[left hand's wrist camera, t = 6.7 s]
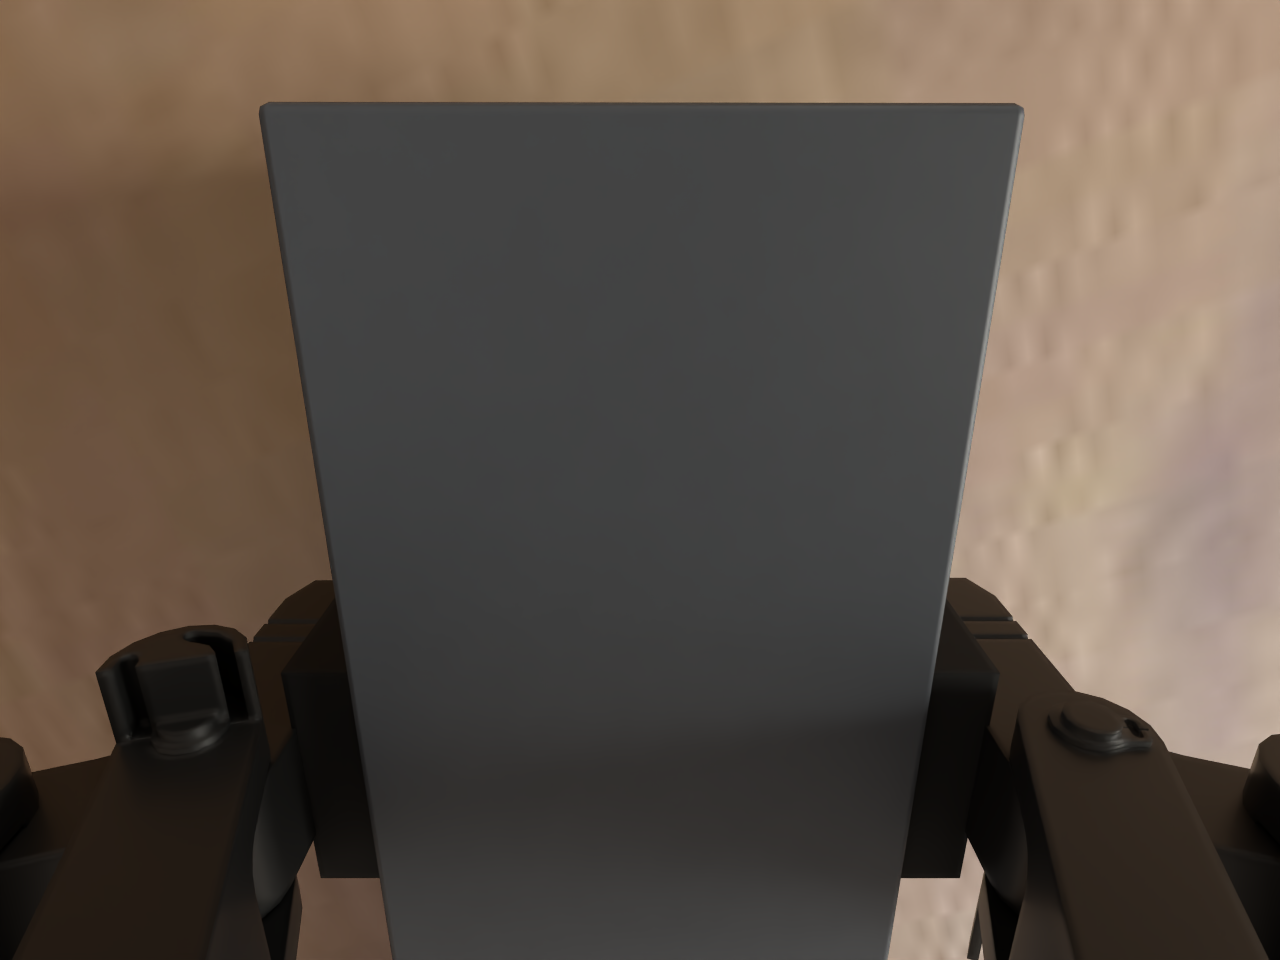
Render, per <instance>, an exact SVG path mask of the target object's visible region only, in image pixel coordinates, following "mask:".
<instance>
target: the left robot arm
mask: <svg viewBox="0 0 1280 960" xmlns="http://www.w3.org/2000/svg"><path fill="white" fill-rule="evenodd" d="M1027 636H1028V635H1027V633H1026V632H1025V631H1024V630H1023V629H1022V627H1021V626H1020V625H1019V624H1018V623H1017V621H1013V617H1012V615H1011V614H1010V613H1009V612H1008V611H1007V610H1006V608H1005V607H1004V606H1003V605H1002V604H1001V602H1000V601H999V600H998V599H997V598H996V596H994V595H993V594H991V593H989V592H988V591H986V590H984V589H983V588H981V587H980V586H978V585H976V584H975V583H973V582H971V581H970V580H968V579H966V578H949V583H948V589H947V596H946V602H945V608H944V614H943V620H942V626H941V633H940V639H939V645H938V651H937V657H936V663H935V670H934V676H933V682H932V688H931V694H930V700H929V706H928V713H927V719H926V725H925V731H924V737H923V743H922V750H921V756H920V762H919V768H918V774H917V780H916V787H915V793H914V799H913V805H912V811H911V817H910V824H909V830H908V836H907V842H906V848H905V854H904V860H903V867H902V873H901V878H960V874H961V869H962V864H963V859H964V854H965V849H966V843H967V838H968V839H969V841H970V843H971V845H972V847H973V849H974V851H975V853H976V855H977V857H978V859H979V861H980V863H981V865H982V867H983V869H984V875H983V880H982V884H981V889H980V894H979V899H978V903H977V908H976V913H975V918H974V922H973V927H972V932H971V937H970V942H969V948H968V955H967V959H971V960H978V959H979V954H980V950H981V945H982V946H983V954H984V960H1280V734H1277V735H1271V736H1270V737H1268V738H1267V739H1265V740H1264V741H1263V742H1261V743H1260V744H1259V746H1258V749H1257V752H1256V754H1255V757H1254V760H1253V763H1252V766H1251V769H1247V768H1243V767H1238V766H1233V765H1228V764H1223V763H1218V762H1213V761H1208V760H1203V759H1198V758H1193V757H1189V756H1184V755H1180V754H1176V753H1172V752H1169V751H1168V750H1167V748H1166V746H1165V744H1164V742H1163V741H1162V739H1161V738H1160V737H1159V736H1158V734H1157V733H1156V732H1155V731H1154V729H1153V728H1152V727H1151V725H1149V724H1148V723H1146V722H1145V721H1144V720H1142V719H1141V718H1139V717H1138V716H1137V715H1135V714H1134V713H1132V712H1131V711H1130V710H1128V709H1126V708H1123V707H1121V706H1119V705H1117V704H1114V703H1112V702H1110V701H1108V700H1105V699H1103V698H1100V697H1096V696H1092V695H1088V694H1084V693H1080V692H1076V691H1075V690H1074V689H1073V688H1072V687H1071V686H1070V684H1069V683H1068V682H1067V681H1066V680H1065V679H1064V677H1063V676H1062V675H1061V674H1060V673H1059V671H1058V670H1057V669H1056V668H1055V667H1054V665H1053V664H1052V663H1051V662H1050V661H1049V660H1048V658H1047V657H1046V656H1045V655H1044V654H1043V652H1042V651H1041V650H1040V649H1039V648H1038V646H1037V645H1036V644H1035V643H1034V642H1033V640H1032V639H1028V637H1027ZM95 673H96V677H97V680H98V683H99V687H100V690H101V693H102V697H103V700H104V704H105V707H106V710H107V714H108V717H109V720H110V724H111V727H112V730H113V734H114V737H115V741H116V745H115V747H114V749H113V751H112V753H111V755H110V756H106V757H103V758H99V759H94V760H90V761H85V762H80V763H75V764H70V765H65V766H60V767H55V768H50V769H46V770H41V771H36V772H31V769H30V766H29V764H28V761H27V758H26V755H25V752H24V749H23V747H21V746H20V745H19V744H17V743H16V742H14V741H13V740H12V739H10V738H1V737H0V960H296V956H297V948H298V939H299V931H300V923H301V915H302V902H301V895H300V889H299V884H298V880H297V873H298V871H299V869H300V866H301V864H302V862H303V860H304V858H305V856H306V854H307V852H308V850H309V848H310V846H311V844H312V842H313V841H314V846H315V851H316V856H317V861H318V866H319V871H320V876H321V878H380V876H379V870H378V864H377V858H376V851H375V845H374V839H373V832H372V826H371V820H370V813H369V807H368V801H367V794H366V788H365V782H364V775H363V769H362V763H361V756H360V750H359V744H358V737H357V731H356V725H355V718H354V712H353V706H352V700H351V693H350V687H349V681H348V674H347V668H346V662H345V655H344V649H343V643H342V636H341V630H340V624H339V617H338V611H337V605H336V598H335V592H334V586H333V580H315V581H314V582H312V583H310V584H309V585H307V586H306V587H304V588H302V589H301V590H299V591H297V592H296V593H294V594H293V595H291V596H289V597H288V598H286V599H285V600H284V601H283V603H282V604H281V605H280V606H279V607H278V609H277V610H276V611H275V612H274V613H273V615H272V616H271V617H270V618H269V619H268V624H264V625H263V627H262V628H261V629H260V630H259V631H258V633H257V634H256V635H255V636H254V640H253V642H249V643H247V638H246V637H245V636H244V635H242V634H241V633H240V632H238V631H237V630H236V629H233V628H228V627H223V626H218V625H201V626H187V627H182V628H178V629H173V630H169V631H164V632H160V633H157V634H155V635H152V636H150V637H147V638H144V639H142V640H139V641H137V642H134V643H132V644H130V645H129V646H127V647H125V648H124V649H122V650H121V651H119V652H117V653H116V654H114V655H112V656H111V657H109V658H108V660H107V661H106V662H105V663H104V664H103V665H102V666H101V667H100V668H99V669H98V670H97V671H96V672H95Z"/></svg>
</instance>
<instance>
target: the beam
mask: <svg viewBox="0 0 1280 960" xmlns="http://www.w3.org/2000/svg"><path fill="white" fill-rule="evenodd" d="M259 118H260V125H261V131H262V137H263V144H264V150H265V156H266V162H267V169H268V175H269V181H270V188H271V194H272V200H273V207H274V213H275V219H276V226H277V232H278V238H279V245H280V251H281V257H282V264H283V270H284V276H285V283H286V289H287V295H288V301H289V308H290V314H291V320H292V327H293V333H294V339H295V346H296V352H297V358H298V365H299V371H300V377H301V384H302V390H303V396H304V403H305V409H306V415H307V422H308V428H309V434H310V440H311V447H312V453H313V459H314V466H315V472H316V478H317V485H318V491H319V497H320V504H321V510H322V516H323V523H324V529H325V535H326V542H327V548H328V554H329V561H330V567H331V573H332V579H333V586H334V592H335V598H336V605H337V611H338V617H339V624H340V630H341V636H342V643H343V649H344V655H345V662H346V668H347V674H348V681H349V687H350V693H351V700H352V706H353V712H354V718H355V725H356V731H357V737H358V744H359V750H360V756H361V763H362V769H363V775H364V782H365V788H366V794H367V801H368V807H369V813H370V820H371V826H372V832H373V839H374V845H375V851H376V858H377V864H378V870H379V876H380V883H381V889H382V895H383V902H384V908H385V914H386V921H387V927H388V933H389V940H390V946H391V952H392V959H393V960H887V959H888V953H889V947H890V941H891V934H892V928H893V922H894V916H895V910H896V904H897V897H898V891H899V885H900V879H901V873H902V867H903V860H904V854H905V848H906V842H907V836H908V830H909V824H910V817H911V811H912V805H913V799H914V793H915V787H916V780H917V774H918V768H919V762H920V756H921V750H922V743H923V737H924V731H925V725H926V719H927V713H928V706H929V700H930V694H931V688H932V682H933V676H934V670H935V663H936V657H937V651H938V645H939V639H940V633H941V626H942V620H943V614H944V608H945V602H946V596H947V589H948V583H949V577H950V571H951V565H952V559H953V553H954V546H955V540H956V534H957V528H958V522H959V516H960V509H961V503H962V497H963V491H964V485H965V479H966V472H967V466H968V460H969V454H970V448H971V442H972V436H973V429H974V423H975V417H976V411H977V405H978V399H979V392H980V386H981V380H982V374H983V368H984V362H985V355H986V349H987V343H988V337H989V331H990V325H991V319H992V312H993V306H994V300H995V294H996V288H997V282H998V275H999V269H1000V263H1001V257H1002V251H1003V245H1004V238H1005V232H1006V226H1007V220H1008V214H1009V208H1010V202H1011V195H1012V189H1013V183H1014V177H1015V171H1016V165H1017V158H1018V152H1019V146H1020V140H1021V134H1022V128H1023V121H1024V109H1023V107H1021V106H1019V105H1017V104H1015V103H558V102H268V103H266V104H264V105H262V106H260V110H259Z"/></svg>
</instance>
